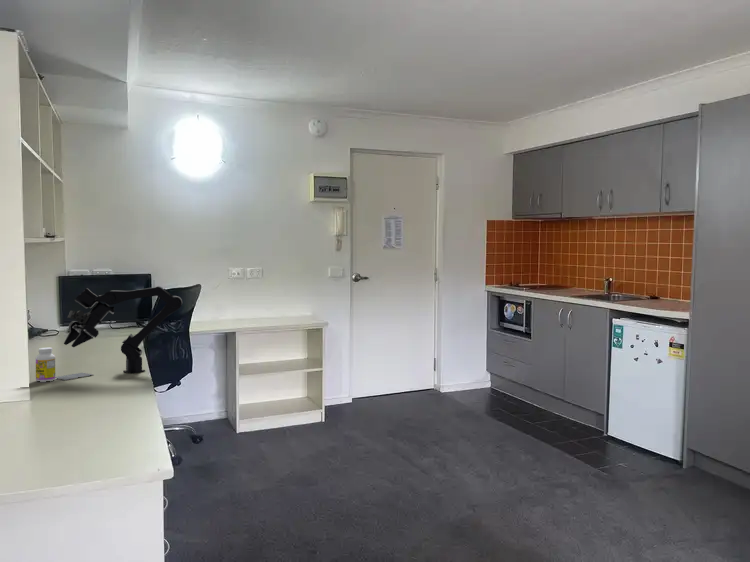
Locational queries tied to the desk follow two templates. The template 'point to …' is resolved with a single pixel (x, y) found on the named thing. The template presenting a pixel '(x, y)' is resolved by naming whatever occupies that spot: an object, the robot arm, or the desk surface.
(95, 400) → the desk surface
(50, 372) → the supplement bottle
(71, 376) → the mat
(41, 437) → the desk surface
